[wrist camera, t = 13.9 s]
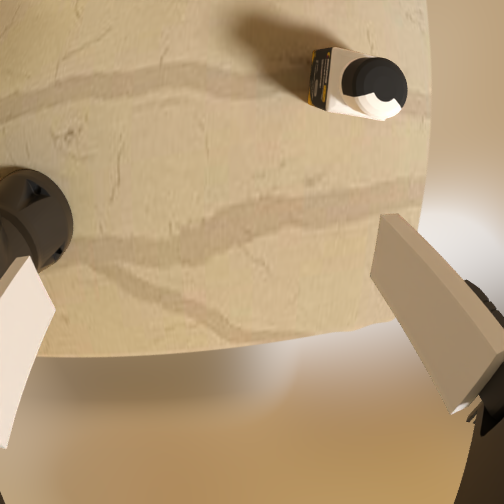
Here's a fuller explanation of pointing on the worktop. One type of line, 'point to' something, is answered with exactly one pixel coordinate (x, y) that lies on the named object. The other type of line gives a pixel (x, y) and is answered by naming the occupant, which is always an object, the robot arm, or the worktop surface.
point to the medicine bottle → (356, 84)
